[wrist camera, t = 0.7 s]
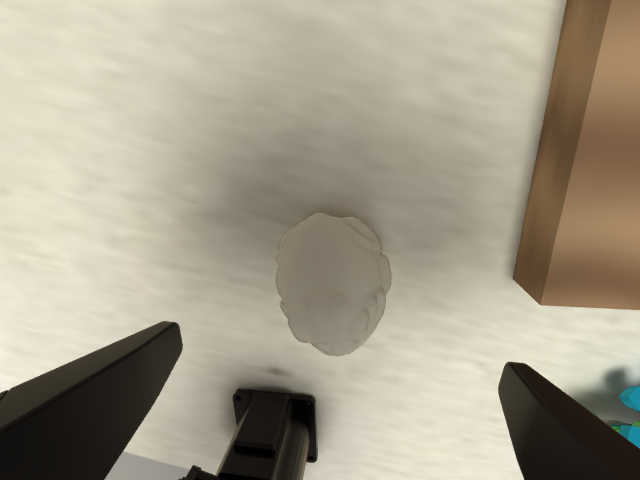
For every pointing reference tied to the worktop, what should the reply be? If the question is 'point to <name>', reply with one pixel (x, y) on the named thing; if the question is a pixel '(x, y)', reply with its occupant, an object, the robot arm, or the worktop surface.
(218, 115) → the worktop surface
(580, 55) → the walnut block
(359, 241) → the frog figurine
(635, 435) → the gear
